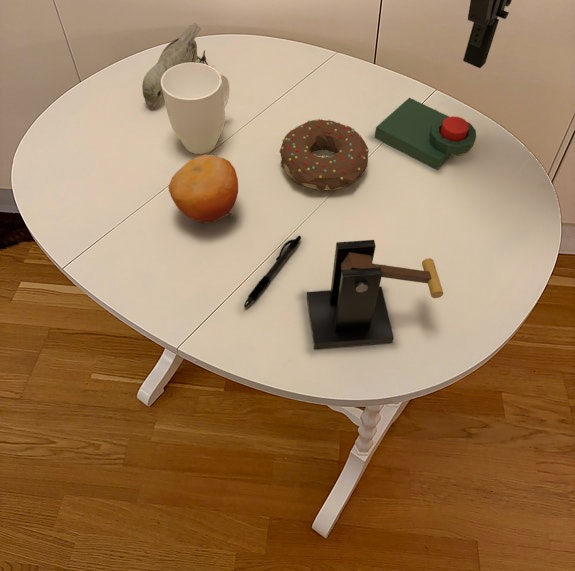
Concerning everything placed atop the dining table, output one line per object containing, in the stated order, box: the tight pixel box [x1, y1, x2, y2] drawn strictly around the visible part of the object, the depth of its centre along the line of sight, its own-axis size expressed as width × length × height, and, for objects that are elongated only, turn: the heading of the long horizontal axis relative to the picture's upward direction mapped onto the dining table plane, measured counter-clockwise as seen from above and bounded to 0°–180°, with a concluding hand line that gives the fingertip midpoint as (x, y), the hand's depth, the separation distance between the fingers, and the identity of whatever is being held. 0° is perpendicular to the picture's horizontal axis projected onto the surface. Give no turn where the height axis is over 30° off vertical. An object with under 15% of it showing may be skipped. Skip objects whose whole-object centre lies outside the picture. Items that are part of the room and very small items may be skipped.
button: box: [440, 115, 469, 142], centre depth 93 cm, size 4×4×2 cm
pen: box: [243, 235, 302, 308], centre depth 81 cm, size 14×2×1 cm, turn 149°
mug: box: [161, 62, 231, 155], centre depth 93 cm, size 12×9×12 cm
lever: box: [341, 252, 444, 299], centre depth 70 cm, size 12×5×2 cm, turn 96°
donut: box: [278, 118, 370, 192], centre depth 92 cm, size 14×14×5 cm
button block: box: [373, 97, 477, 171], centre depth 96 cm, size 14×10×4 cm
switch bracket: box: [306, 239, 395, 350], centre depth 72 cm, size 10×8×13 cm
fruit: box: [168, 154, 239, 225], centre depth 84 cm, size 10×9×10 cm
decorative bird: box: [141, 23, 209, 110], centre depth 103 cm, size 5×16×8 cm, turn 153°
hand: (474, 62), depth 83 cm, fingers closed
